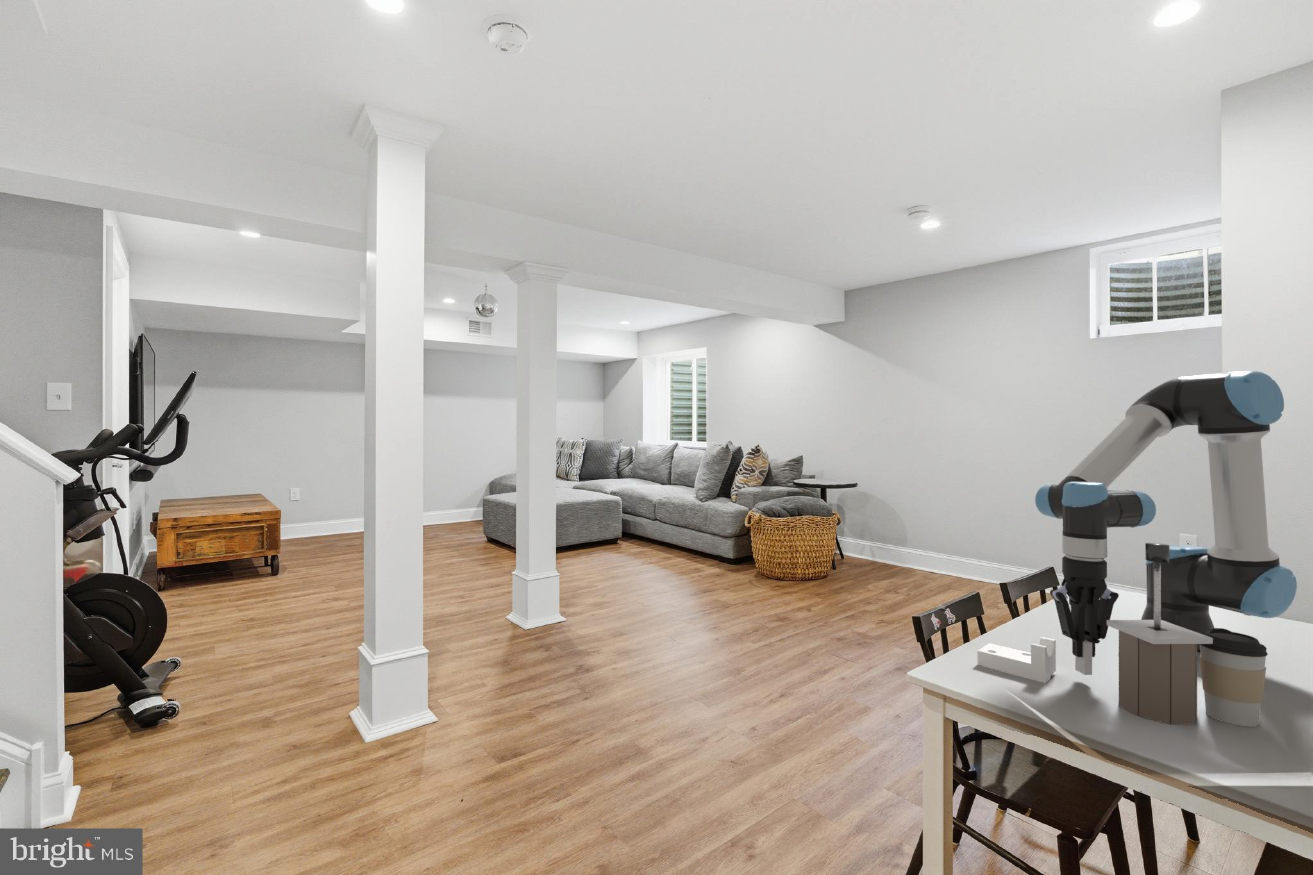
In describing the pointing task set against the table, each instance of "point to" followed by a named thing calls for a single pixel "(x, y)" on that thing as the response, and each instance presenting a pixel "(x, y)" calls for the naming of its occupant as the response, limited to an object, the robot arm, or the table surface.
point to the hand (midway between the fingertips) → (1083, 672)
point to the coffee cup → (1233, 676)
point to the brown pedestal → (1158, 670)
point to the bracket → (1021, 660)
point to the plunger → (1157, 575)
